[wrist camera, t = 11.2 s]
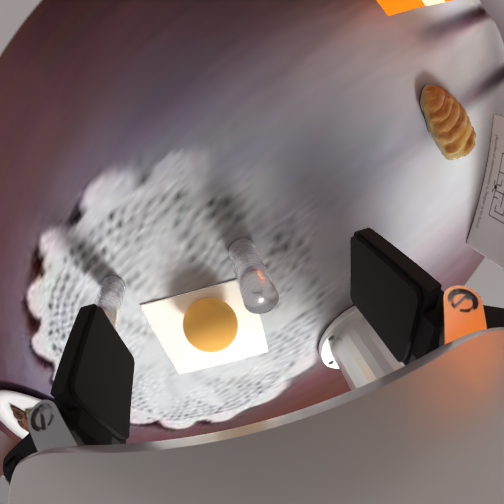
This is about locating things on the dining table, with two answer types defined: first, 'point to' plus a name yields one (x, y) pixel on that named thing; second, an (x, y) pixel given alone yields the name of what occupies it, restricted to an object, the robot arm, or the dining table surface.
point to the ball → (210, 324)
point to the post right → (252, 277)
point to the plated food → (16, 411)
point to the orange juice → (405, 5)
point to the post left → (111, 297)
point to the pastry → (447, 122)
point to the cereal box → (491, 202)
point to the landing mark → (182, 351)
